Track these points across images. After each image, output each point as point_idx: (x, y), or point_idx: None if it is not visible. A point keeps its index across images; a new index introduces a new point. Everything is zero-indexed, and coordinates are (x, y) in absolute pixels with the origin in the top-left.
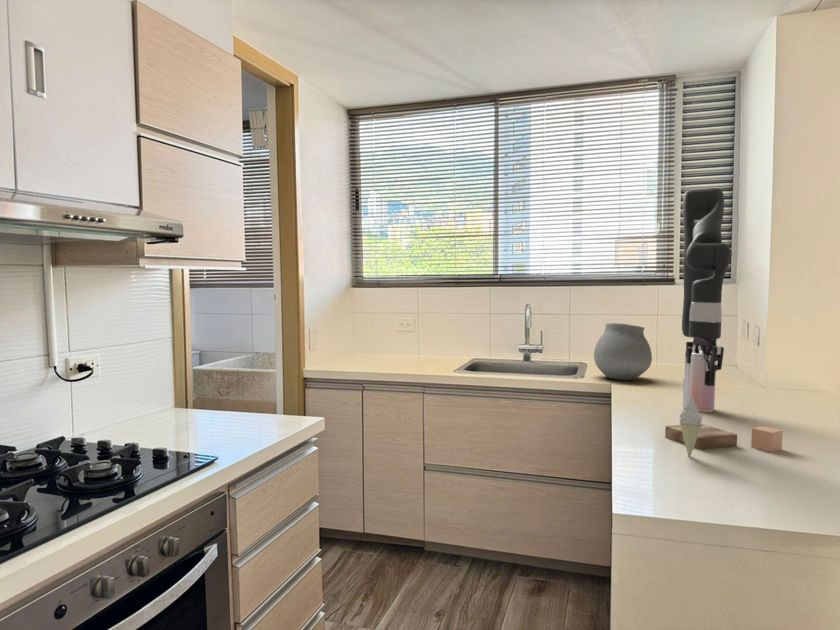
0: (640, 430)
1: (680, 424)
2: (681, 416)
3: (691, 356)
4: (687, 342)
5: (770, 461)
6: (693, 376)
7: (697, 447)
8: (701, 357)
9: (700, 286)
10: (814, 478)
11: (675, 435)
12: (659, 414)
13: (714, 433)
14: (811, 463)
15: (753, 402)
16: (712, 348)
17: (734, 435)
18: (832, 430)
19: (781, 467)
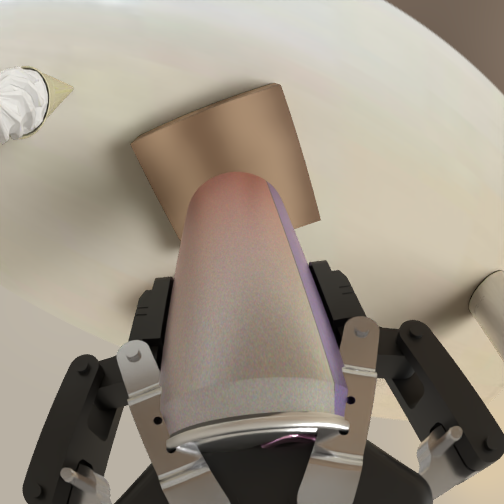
0: (352, 44)
1: (26, 69)
2: (11, 74)
3: (292, 385)
4: (493, 456)
5: (84, 260)
6: (219, 258)
7: (146, 132)
8: (164, 418)
9: None
10: (18, 279)
11: (231, 98)
12: (488, 197)
13: None
14: (101, 319)
15: (473, 368)
16: (35, 496)
17: None
18: None
19: (52, 260)
